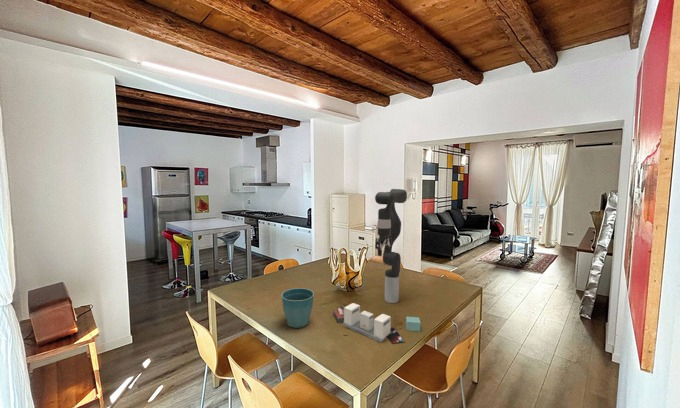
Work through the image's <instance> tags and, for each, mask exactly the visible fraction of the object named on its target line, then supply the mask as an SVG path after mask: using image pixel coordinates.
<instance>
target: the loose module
mask: <svg viewBox="0 0 680 408" xmlns="http://www.w3.org/2000/svg"><path fill="white" fill-rule="evenodd" d="M373 325H374V313H372V312H369V311H366V310H363V311H360V328H363V329H365V330H367V331H370V330H371V329H373Z"/></svg>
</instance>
